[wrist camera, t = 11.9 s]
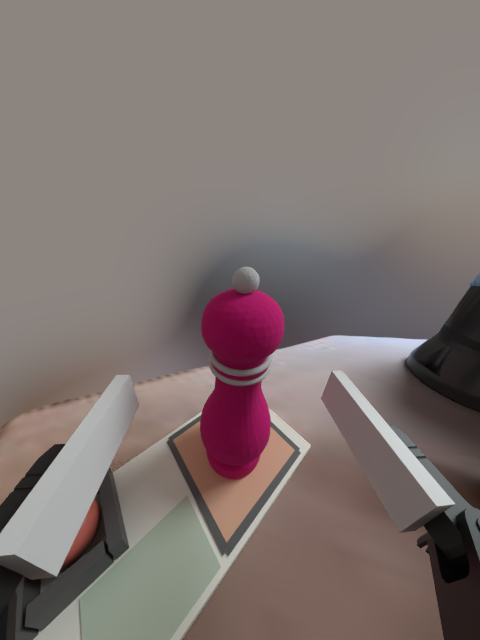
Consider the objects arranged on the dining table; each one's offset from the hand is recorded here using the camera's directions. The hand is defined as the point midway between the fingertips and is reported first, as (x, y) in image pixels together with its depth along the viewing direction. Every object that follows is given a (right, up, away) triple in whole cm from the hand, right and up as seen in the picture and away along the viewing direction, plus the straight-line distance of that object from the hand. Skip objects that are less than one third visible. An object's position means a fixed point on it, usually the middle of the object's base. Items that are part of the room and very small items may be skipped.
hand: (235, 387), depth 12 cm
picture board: (-4, -12, +6) cm, 14 cm away
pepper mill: (0, -10, +8) cm, 13 cm away
